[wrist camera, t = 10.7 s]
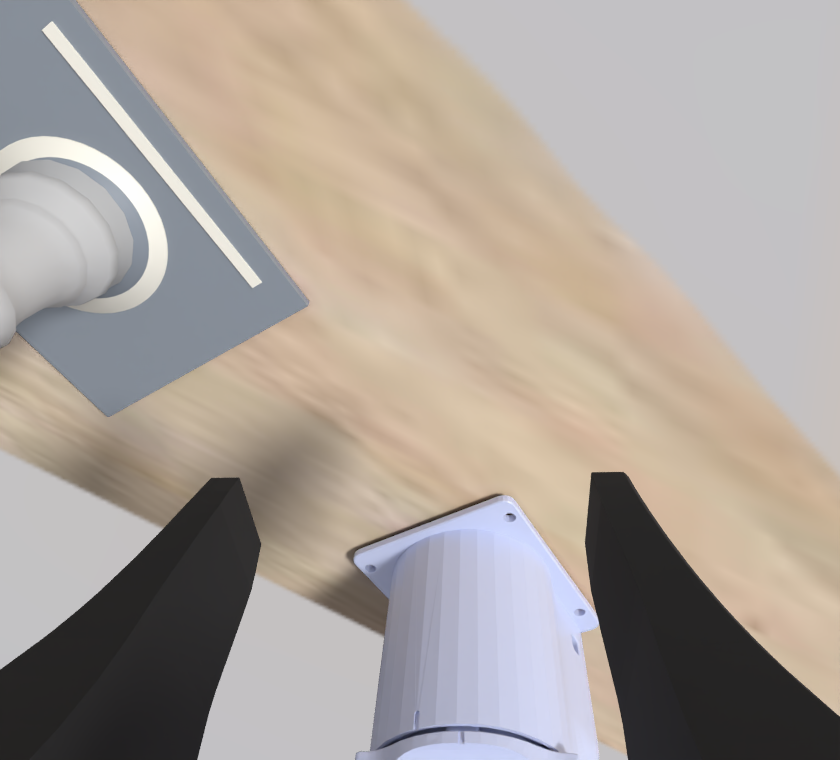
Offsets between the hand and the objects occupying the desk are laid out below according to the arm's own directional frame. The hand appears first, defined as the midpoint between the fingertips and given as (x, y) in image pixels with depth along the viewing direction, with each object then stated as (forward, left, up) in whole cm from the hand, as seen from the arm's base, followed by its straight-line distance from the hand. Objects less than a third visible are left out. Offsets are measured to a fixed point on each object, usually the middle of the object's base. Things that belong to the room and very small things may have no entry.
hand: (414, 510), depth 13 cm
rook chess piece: (+8, +9, -10) cm, 16 cm away
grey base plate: (+8, +9, -10) cm, 16 cm away
